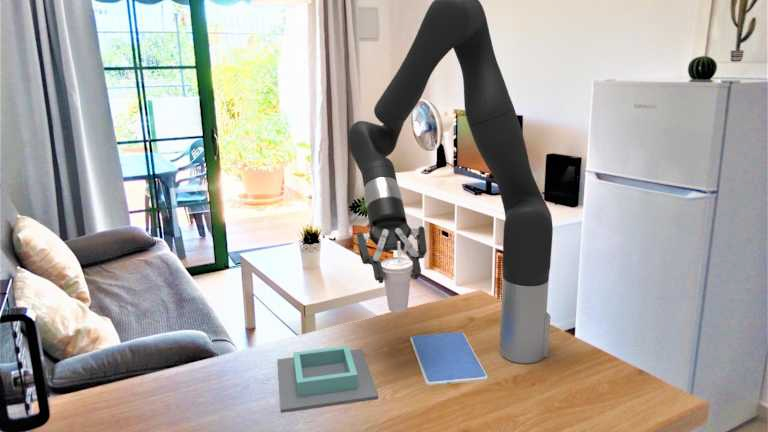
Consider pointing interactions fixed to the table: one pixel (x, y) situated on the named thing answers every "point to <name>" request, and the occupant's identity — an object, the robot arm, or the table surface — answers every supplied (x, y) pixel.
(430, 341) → the tablet computer
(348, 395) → the holder
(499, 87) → the robot arm
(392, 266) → the smoothie
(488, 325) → the table surface
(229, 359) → the table surface
